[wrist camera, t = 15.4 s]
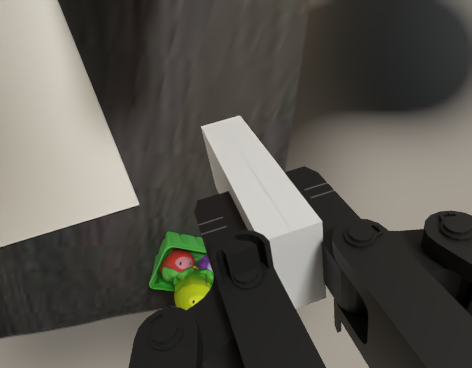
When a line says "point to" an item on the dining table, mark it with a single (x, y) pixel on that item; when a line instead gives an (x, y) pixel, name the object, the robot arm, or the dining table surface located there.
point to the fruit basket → (182, 269)
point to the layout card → (51, 129)
